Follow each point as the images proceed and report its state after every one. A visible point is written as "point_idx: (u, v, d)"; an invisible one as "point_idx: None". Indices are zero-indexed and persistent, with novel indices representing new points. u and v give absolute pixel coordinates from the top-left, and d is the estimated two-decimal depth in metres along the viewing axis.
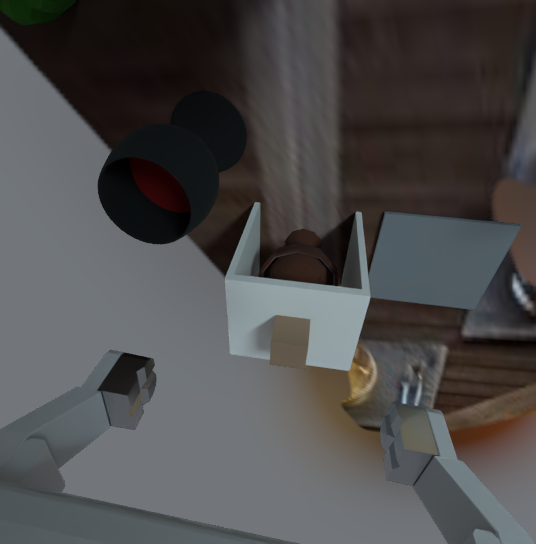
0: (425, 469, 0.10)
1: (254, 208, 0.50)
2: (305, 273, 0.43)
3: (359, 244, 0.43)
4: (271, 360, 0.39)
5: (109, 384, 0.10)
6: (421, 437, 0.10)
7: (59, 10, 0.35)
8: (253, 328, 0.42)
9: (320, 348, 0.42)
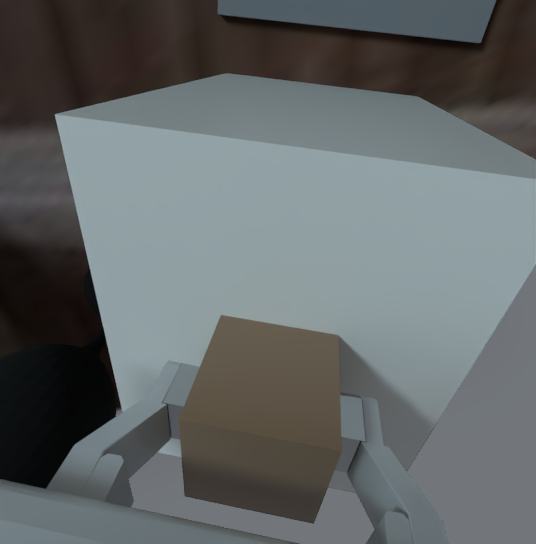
0: (355, 455, 0.10)
1: None
2: None
3: None
4: (288, 515, 0.10)
5: (175, 397, 0.10)
6: (351, 424, 0.10)
7: None
8: None
9: (378, 299, 0.10)
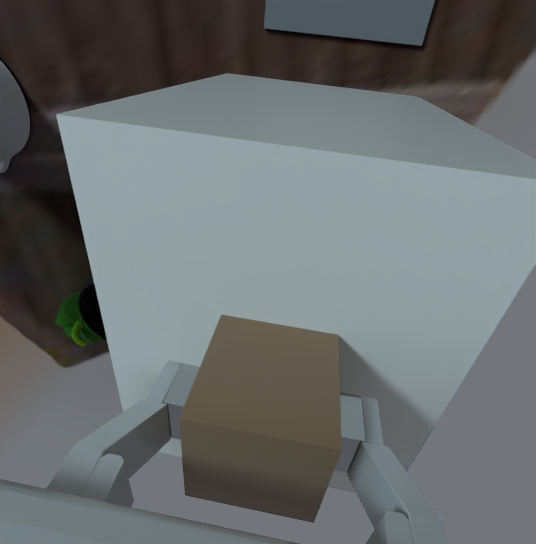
0: (355, 455, 0.10)
1: None
2: None
3: None
4: (288, 514, 0.10)
5: (175, 397, 0.10)
6: (351, 424, 0.10)
7: None
8: None
9: (378, 298, 0.11)
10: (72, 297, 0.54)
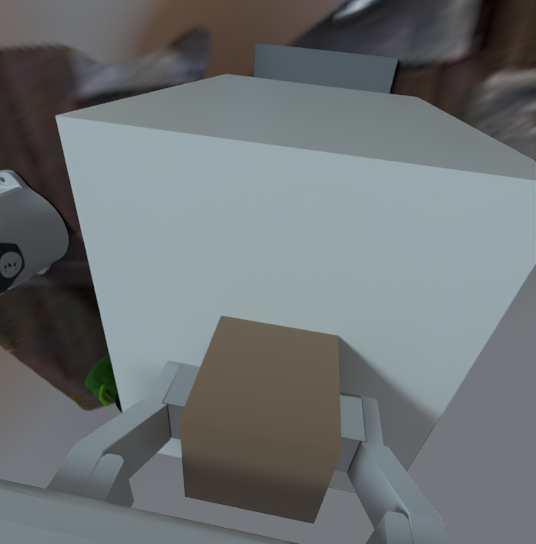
0: (355, 455, 0.10)
1: None
2: None
3: None
4: (288, 515, 0.10)
5: (175, 397, 0.10)
6: (351, 424, 0.10)
7: None
8: None
9: (378, 299, 0.11)
10: (98, 366, 0.67)
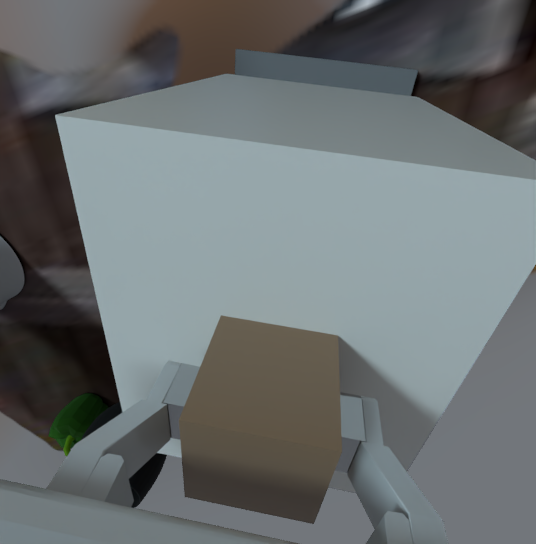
0: (355, 455, 0.10)
1: None
2: None
3: None
4: (288, 515, 0.10)
5: (175, 397, 0.10)
6: (351, 424, 0.10)
7: (91, 420, 0.59)
8: None
9: (378, 299, 0.11)
10: (64, 414, 0.59)
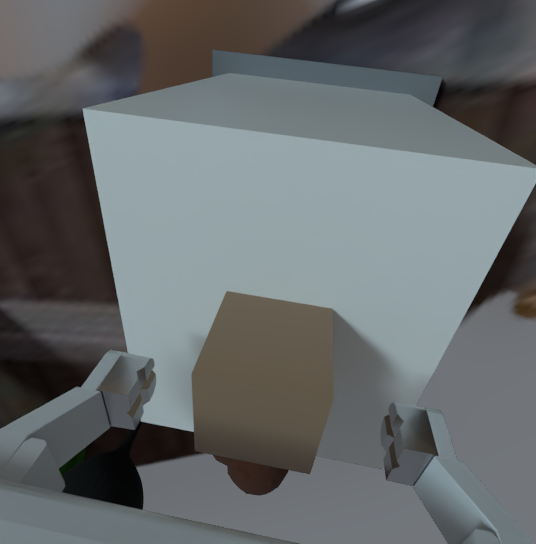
0: (425, 469, 0.10)
1: None
2: None
3: None
4: (287, 466, 0.12)
5: (110, 385, 0.10)
6: (421, 437, 0.10)
7: None
8: None
9: (367, 274, 0.12)
10: None
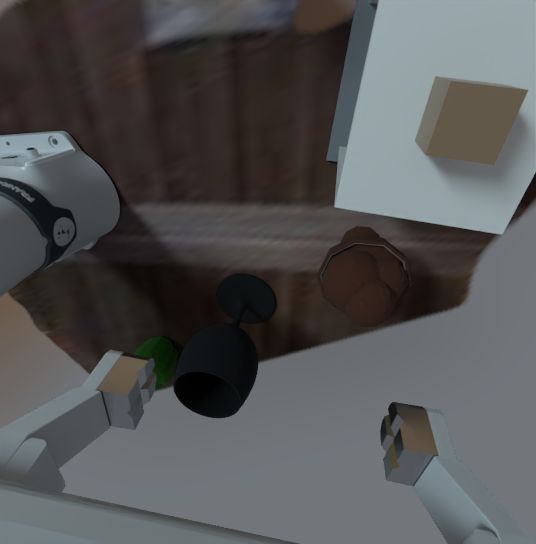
0: (425, 469, 0.10)
1: (338, 154, 0.41)
2: (331, 280, 0.39)
3: None
4: (481, 160, 0.21)
5: (110, 384, 0.10)
6: (421, 437, 0.10)
7: (165, 358, 0.63)
8: (442, 183, 0.26)
9: (529, 53, 0.21)
10: (142, 351, 0.63)
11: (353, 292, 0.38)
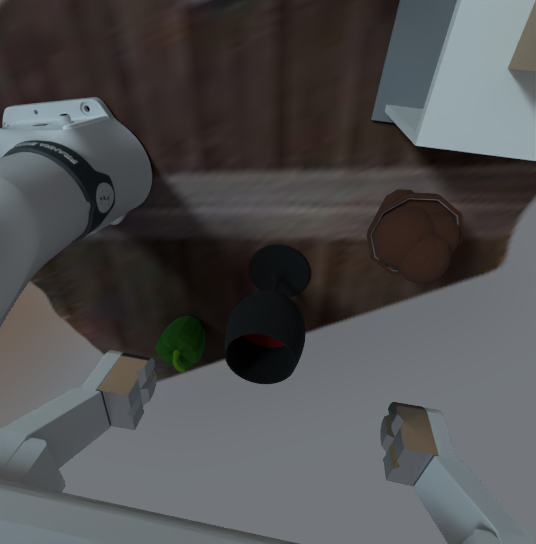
0: (425, 469, 0.10)
1: (387, 111, 0.41)
2: (386, 236, 0.39)
3: None
4: None
5: (110, 384, 0.10)
6: (421, 437, 0.10)
7: (196, 336, 0.62)
8: (530, 114, 0.25)
9: None
10: (172, 329, 0.61)
11: (410, 247, 0.38)
